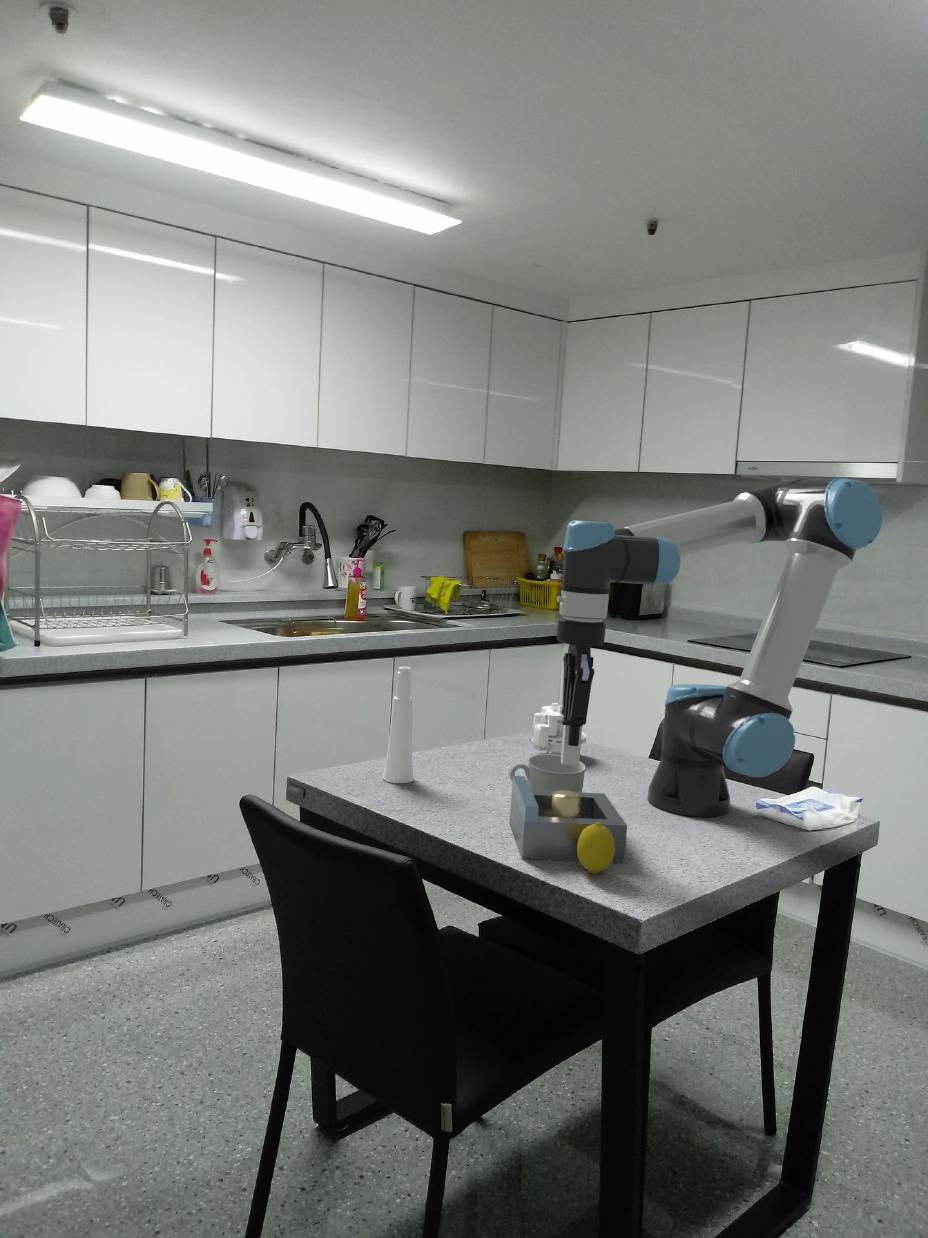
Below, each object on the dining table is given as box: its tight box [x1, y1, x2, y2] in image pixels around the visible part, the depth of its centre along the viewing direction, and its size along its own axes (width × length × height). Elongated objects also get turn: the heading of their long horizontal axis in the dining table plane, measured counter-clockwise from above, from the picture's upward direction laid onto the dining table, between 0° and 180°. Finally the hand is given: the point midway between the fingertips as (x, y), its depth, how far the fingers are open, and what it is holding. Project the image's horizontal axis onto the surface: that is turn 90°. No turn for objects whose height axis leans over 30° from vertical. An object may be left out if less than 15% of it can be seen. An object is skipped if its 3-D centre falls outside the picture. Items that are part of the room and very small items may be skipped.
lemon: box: [577, 822, 615, 875], centre depth 138 cm, size 6×6×8 cm
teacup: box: [508, 753, 587, 793], centre depth 171 cm, size 14×11×8 cm
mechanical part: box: [530, 702, 587, 755], centre depth 204 cm, size 11×12×12 cm
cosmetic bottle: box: [382, 666, 415, 784], centre depth 179 cm, size 6×6×22 cm
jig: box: [508, 775, 628, 864], centre depth 151 cm, size 16×16×8 cm
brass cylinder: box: [551, 790, 581, 818], centre depth 151 cm, size 5×5×8 cm
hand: (569, 763), depth 150 cm, fingers closed
